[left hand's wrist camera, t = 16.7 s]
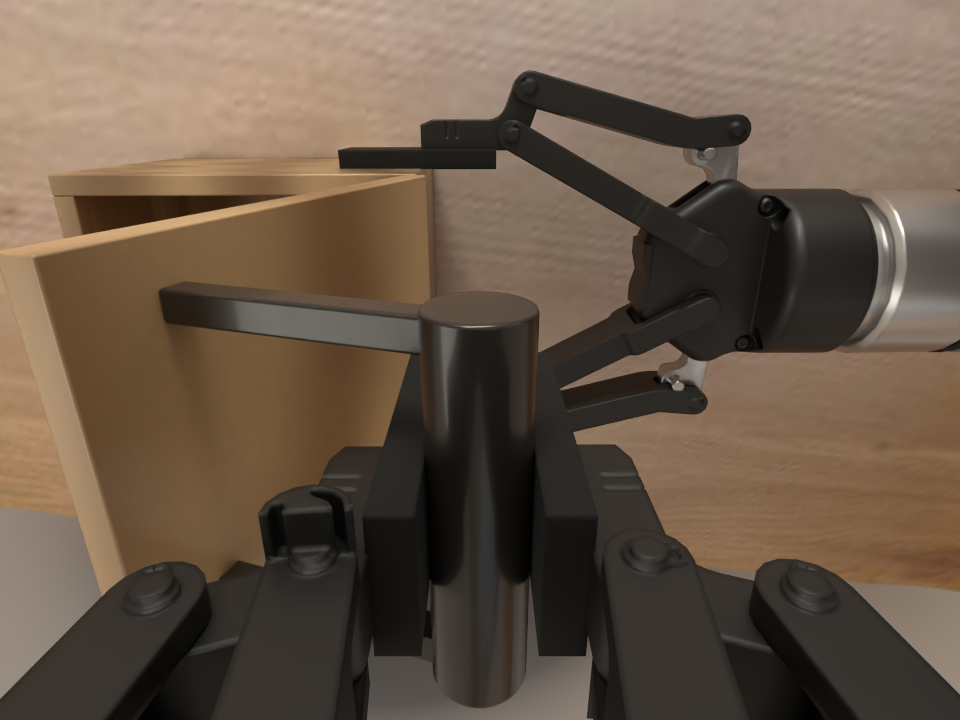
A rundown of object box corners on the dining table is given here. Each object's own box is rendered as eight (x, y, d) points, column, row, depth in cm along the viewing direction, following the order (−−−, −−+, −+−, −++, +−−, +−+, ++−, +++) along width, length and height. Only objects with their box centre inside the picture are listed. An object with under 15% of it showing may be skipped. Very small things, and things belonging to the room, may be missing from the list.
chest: (206, 327, 35) (107, 405, 26) (174, 158, 32) (46, 174, 22) (437, 325, 35) (426, 402, 26) (432, 157, 32) (416, 173, 22)
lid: (131, 698, 13) (488, 830, 10) (-8, 251, 9) (491, 296, 7) (416, 406, 25) (603, 434, 23) (405, 174, 22) (625, 180, 20)
